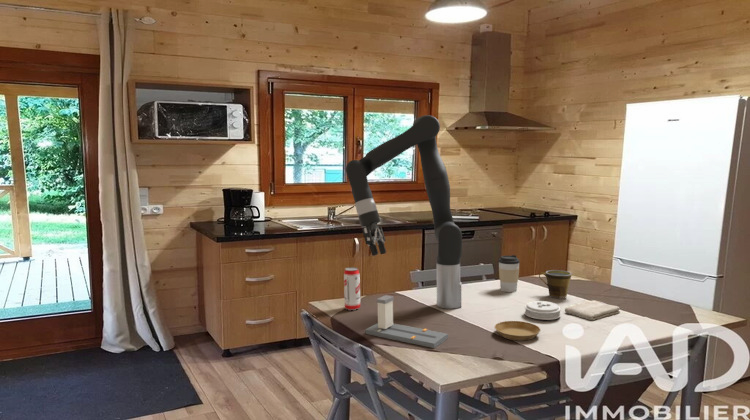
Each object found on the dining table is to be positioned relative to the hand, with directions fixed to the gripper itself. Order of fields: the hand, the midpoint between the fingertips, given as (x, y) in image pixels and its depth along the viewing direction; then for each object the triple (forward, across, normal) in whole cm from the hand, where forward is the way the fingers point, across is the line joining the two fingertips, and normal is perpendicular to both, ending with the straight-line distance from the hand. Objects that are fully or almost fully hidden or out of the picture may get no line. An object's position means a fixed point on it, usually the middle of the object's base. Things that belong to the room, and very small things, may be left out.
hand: (379, 254), depth 194 cm
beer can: (+17, +9, +21) cm, 28 cm away
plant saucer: (+39, 0, -39) cm, 56 cm away
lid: (+39, +22, -46) cm, 64 cm away
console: (+29, -13, -6) cm, 32 cm away
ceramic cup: (+36, +50, -50) cm, 80 cm away
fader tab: (+24, -12, +1) cm, 27 cm away
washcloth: (+43, +32, -63) cm, 83 cm away
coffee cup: (+29, +54, -33) cm, 70 cm away
